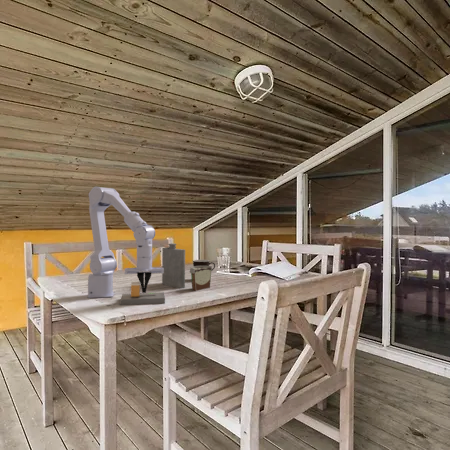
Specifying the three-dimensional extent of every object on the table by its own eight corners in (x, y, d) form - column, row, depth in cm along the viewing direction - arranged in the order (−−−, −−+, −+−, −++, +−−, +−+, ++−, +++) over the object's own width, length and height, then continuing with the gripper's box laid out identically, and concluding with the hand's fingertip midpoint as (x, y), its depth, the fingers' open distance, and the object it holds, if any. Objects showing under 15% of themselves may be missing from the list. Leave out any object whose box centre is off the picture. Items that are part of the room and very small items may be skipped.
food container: (202, 285, 166) (202, 264, 165) (212, 287, 162) (212, 266, 162) (183, 289, 156) (183, 267, 156) (193, 291, 152) (193, 268, 152)
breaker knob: (131, 296, 131) (131, 283, 131) (131, 293, 136) (131, 281, 136) (139, 296, 132) (139, 283, 131) (139, 293, 136) (139, 281, 136)
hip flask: (186, 287, 161) (186, 244, 161) (179, 288, 158) (179, 244, 158) (166, 282, 173) (166, 242, 172) (159, 283, 170) (159, 242, 169)
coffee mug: (192, 281, 177) (192, 261, 177) (193, 278, 186) (193, 259, 186) (215, 281, 178) (215, 261, 177) (215, 278, 186) (215, 259, 186)
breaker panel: (120, 305, 128) (120, 299, 128) (122, 298, 138) (122, 293, 138) (164, 303, 131) (164, 297, 131) (163, 297, 141) (163, 292, 141)
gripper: (124, 258, 129) (123, 295, 129) (164, 257, 132) (163, 293, 132) (125, 256, 136) (125, 291, 136) (163, 255, 139) (163, 289, 139)
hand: (144, 292), depth 134 cm, fingers closed
